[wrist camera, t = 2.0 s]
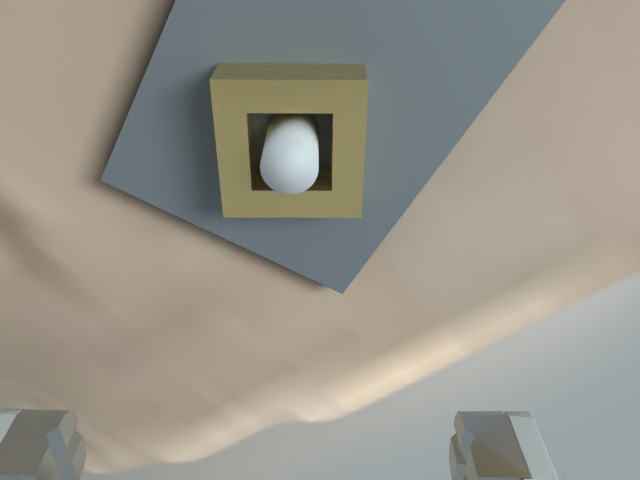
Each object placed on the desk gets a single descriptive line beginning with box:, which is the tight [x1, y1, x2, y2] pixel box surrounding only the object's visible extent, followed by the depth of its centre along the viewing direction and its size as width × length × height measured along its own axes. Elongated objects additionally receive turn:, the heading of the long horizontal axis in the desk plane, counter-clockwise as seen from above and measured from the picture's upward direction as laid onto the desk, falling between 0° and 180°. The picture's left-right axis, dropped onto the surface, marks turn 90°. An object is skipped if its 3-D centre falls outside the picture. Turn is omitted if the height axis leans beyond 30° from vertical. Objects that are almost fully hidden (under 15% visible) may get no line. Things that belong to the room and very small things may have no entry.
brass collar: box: [209, 63, 369, 218], centre depth 25 cm, size 6×6×2 cm
